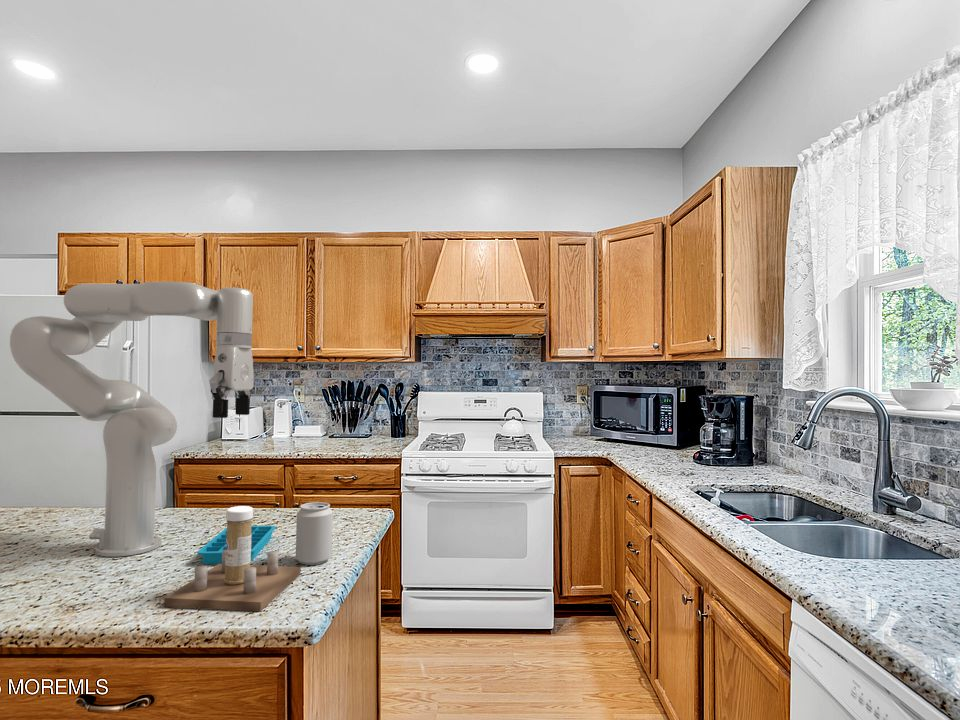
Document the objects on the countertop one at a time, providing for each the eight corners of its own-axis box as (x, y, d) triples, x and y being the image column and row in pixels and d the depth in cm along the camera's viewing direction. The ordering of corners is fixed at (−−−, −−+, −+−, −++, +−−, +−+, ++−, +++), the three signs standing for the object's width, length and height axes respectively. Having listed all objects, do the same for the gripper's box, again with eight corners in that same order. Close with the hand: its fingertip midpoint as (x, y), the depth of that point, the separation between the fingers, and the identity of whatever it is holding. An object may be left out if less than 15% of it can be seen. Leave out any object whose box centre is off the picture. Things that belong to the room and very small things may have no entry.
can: (338, 557, 119) (339, 502, 119) (317, 568, 112) (319, 510, 112) (310, 553, 121) (311, 499, 122) (287, 563, 114) (289, 506, 115)
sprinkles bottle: (219, 581, 100) (221, 508, 100) (243, 574, 104) (245, 504, 104) (230, 587, 97) (233, 512, 98) (255, 580, 101) (257, 508, 101)
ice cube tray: (194, 567, 112) (195, 553, 112) (227, 538, 132) (227, 526, 132) (253, 566, 114) (253, 551, 114) (276, 537, 134) (277, 525, 134)
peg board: (164, 606, 92) (165, 574, 92) (218, 571, 109) (219, 543, 109) (260, 611, 91) (261, 578, 91) (300, 574, 108) (301, 546, 108)
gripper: (230, 339, 116) (227, 419, 115) (267, 344, 133) (264, 414, 132) (196, 338, 116) (193, 418, 116) (237, 344, 133) (235, 413, 133)
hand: (231, 416), depth 124 cm, fingers open, 9 cm apart
